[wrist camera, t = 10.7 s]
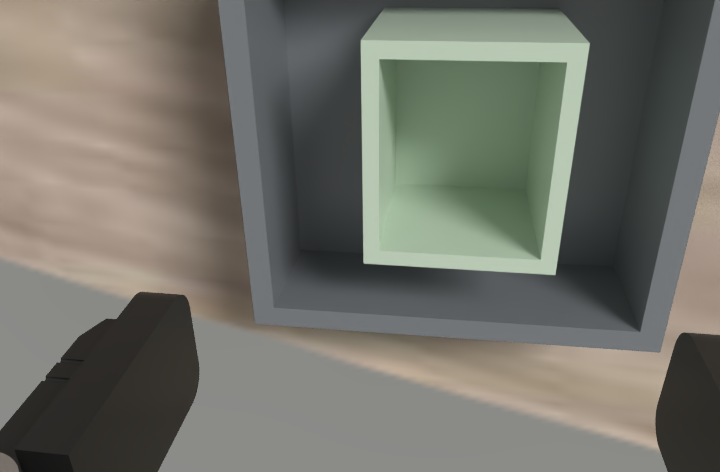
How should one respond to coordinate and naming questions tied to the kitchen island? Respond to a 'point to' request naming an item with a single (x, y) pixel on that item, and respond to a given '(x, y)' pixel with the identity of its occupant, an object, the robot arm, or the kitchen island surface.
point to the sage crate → (469, 136)
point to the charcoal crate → (457, 286)
